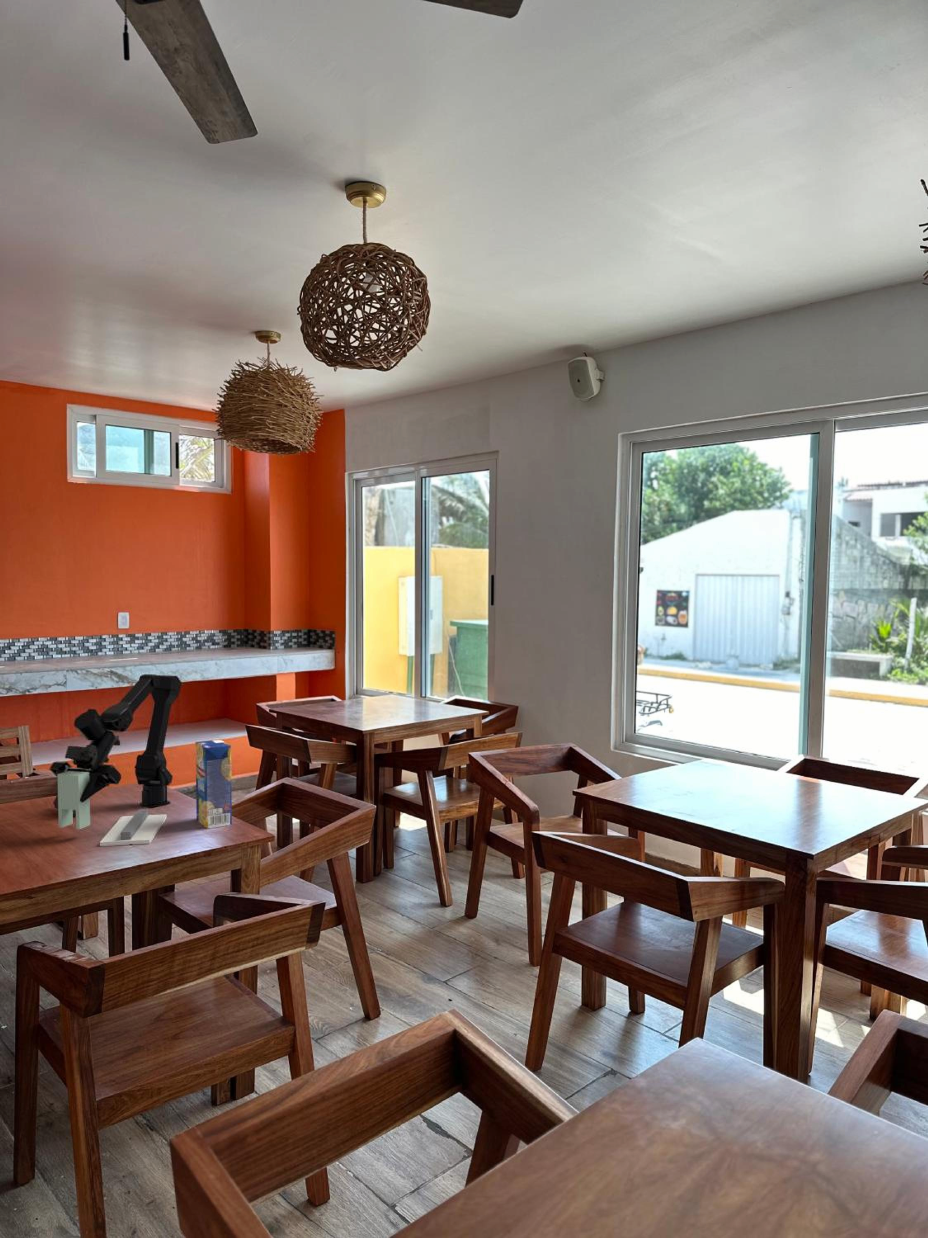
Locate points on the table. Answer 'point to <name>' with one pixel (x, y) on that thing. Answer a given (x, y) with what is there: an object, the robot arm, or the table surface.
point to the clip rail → (138, 836)
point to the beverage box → (213, 783)
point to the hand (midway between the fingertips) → (70, 800)
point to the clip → (73, 799)
